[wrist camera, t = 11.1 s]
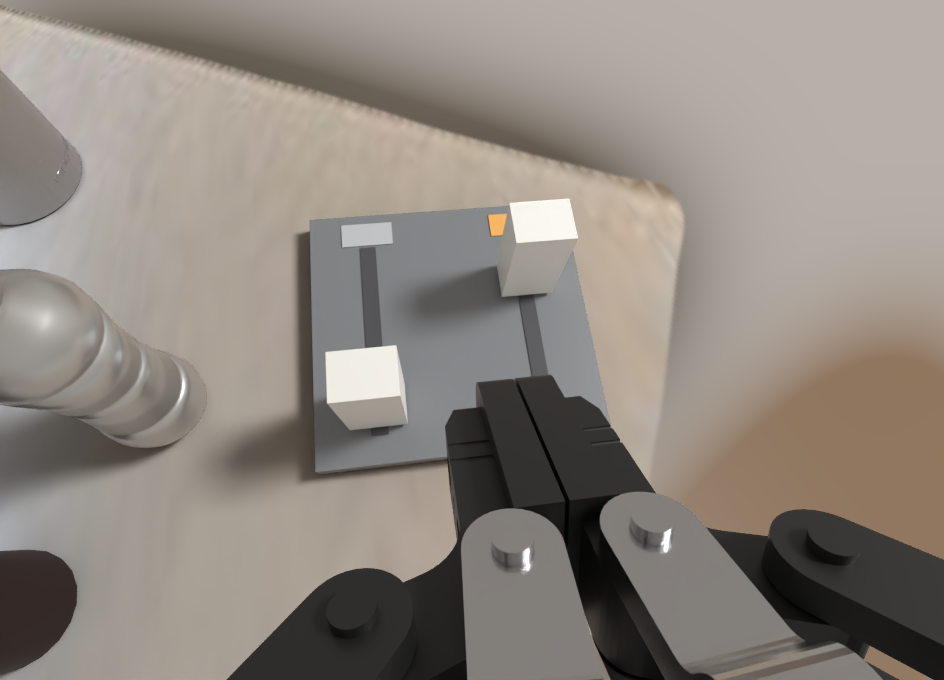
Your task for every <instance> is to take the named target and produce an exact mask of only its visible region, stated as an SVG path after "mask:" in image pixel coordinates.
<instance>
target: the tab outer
mask: <svg viewBox="0 0 944 680" xmlns="http://www.w3.org/2000/svg"><path fill="white" fill-rule="evenodd" d="M577 239H578V236H577V231H576V227H575V222H574V218H573V213H572V209H571V205H570V200H569V199H558V200H544V201H530V202H515V203H509V207H508V212H507V216H506V221H505V225H504V230H503V235H502V239H501V244H500V248H499V253H498V258H497V262H496V264H497V270H498V276H499V282H500V289H501V295H502V297H507V296H518V295H530V294H541V293H552V292H553V290H554V288H555V285H556V283H557V281H558V279H559V277H560V275H561V273H562V271H563V269H564V267H565V265H566V262H567V260H568V258H569V256H570V254H571V252H572V250H573V248H574V246H575V244H576V241H577Z"/></svg>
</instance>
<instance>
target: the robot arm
mask: <svg viewBox="0 0 944 680" xmlns="http://www.w3.org/2000/svg"><path fill="white" fill-rule="evenodd" d="M81 175H82V163H81V159H80V156H79V154H78V153H77V151H76V150H75V148H74V147H73V146H72V145H71V144H70V143H69V142H68V141H67V140H66V139H65V138H64V136H63V135H62V134H61V133H60V132H59V131H58V130H57V129H56V128H55V127H54V126H53V125H52V124H51V123H50V122H49V121H48V120H47V118H46V117H45V116H44V115H43V114H42V113H41V112H40V111H39V110H38V109H37V108H36V107H35V106H34V104H33V103H32V102H31V101H30V100H29V99H28V98H27V97H26V96H25V95H24V94H23V93H22V92H21V91H20V90H19V89H18V87H17V86H16V85H15V84H14V83H13V82H12V81H11V80H10V79H9V78H8V77H7V76H6V75H5V74H4V73H3V72H2V71H1V69H0V224H1V225H16V224H23V223H27V222H32V221H34V220H37V219H40V218H42V217H45V216H46V215H48V214H50V213H52V212H53V211H55V210H57V209H58V208H59V207H60V206H62V205H63V204H64V203H65V202H66V201H67V200H68V199H69V198H70V197H71V195H72V194H73V193H74V191H75V190H76V188H77V186H78V184H79V182H80V178H81ZM445 434H446V447H447V459H448V472H449V484H450V493H451V500H452V508H453V515H454V522H455V529H456V536H457V543H456V545H455V547H454V548H453V550H452V551H451V553H450V554H449V555H448V556H447V558H446V559H444V560H443V561H442V562H441V563H440V564H439V565H437V566H436V567H434V568H433V569H431V570H429V571H428V572H426V573H424V574H422V575H419V576H417V577H415V578H413V579H410V580H408V581H406V582H404V583H403V582H402V581H401V580H400V579H399V578H397V577H396V576H394V575H393V574H391V573H388V572H386V571H383V570H379V569H371V568H363V569H355V570H350V571H346V572H344V573H341V574H338V575H336V576H334V577H332V578H330V579H328V580H327V581H325V582H324V583H323V584H321V585H320V586H319V587H317V588H316V589H315V590H314V591H313V592H312V593H311V594H310V595H309V596H308V597H307V598H306V599H305V600H304V601H303V602H302V603H301V604H300V605H299V606H298V607H297V608H296V609H295V610H294V611H293V612H292V613H291V614H290V615H289V616H288V617H287V618H286V619H285V620H284V621H283V622H282V624H281V625H280V626H279V627H278V628H277V629H276V630H275V631H274V632H273V633H272V634H271V635H270V636H269V637H268V638H267V639H266V640H265V641H264V642H263V643H262V644H261V645H260V646H259V647H258V648H257V649H256V650H255V651H254V652H253V653H252V654H251V655H250V656H249V657H248V658H247V659H246V660H245V661H244V662H243V663H242V664H241V665H240V666H239V667H238V668H237V670H236V671H235V672H234V673H233V674H232V675H231V676H230V677H229V678H228V679H227V680H899V679H897V678H895V677H893V676H891V675H890V674H888V673H886V672H884V671H882V670H880V669H879V668H877V667H875V666H873V665H871V664H870V663H868V662H866V661H864V658H865V655H866V653H867V650H868V648H869V646H872V647H874V648H876V649H877V650H879V651H881V652H883V653H885V654H887V655H888V656H890V657H892V658H894V659H896V660H898V661H900V662H902V663H903V664H906V665H907V666H909V667H911V668H913V669H915V670H917V671H918V672H920V673H922V674H924V675H926V676H928V677H930V678H931V679H933V680H944V560H943V559H940V558H938V557H936V556H933V555H931V554H928V553H926V552H923V551H921V550H919V549H916V548H914V547H912V546H909V545H907V544H904V543H902V542H899V541H897V540H895V539H892V538H890V537H887V536H885V535H883V534H880V533H878V532H875V531H873V530H871V529H868V528H866V527H863V526H861V525H858V524H856V523H854V522H851V521H849V520H846V519H844V518H841V517H838V516H836V515H833V514H829V513H825V512H821V511H816V510H806V509H802V510H792V511H787V512H784V513H782V514H780V515H779V516H777V517H776V518H775V519H774V520H773V522H772V524H771V526H770V530H769V534H768V536H761V535H752V534H745V533H736V532H728V531H721V530H714V529H710V528H707V527H705V526H704V525H703V524H702V522H701V521H700V520H699V519H698V518H697V517H696V515H694V514H693V512H692V511H691V510H689V509H688V508H687V507H685V506H684V505H682V504H681V503H679V502H678V501H675V500H673V499H671V498H668V497H666V496H663V495H660V494H656V493H655V491H654V490H653V488H652V487H651V485H650V484H649V482H648V481H647V479H646V478H645V476H644V475H643V473H642V472H641V470H640V469H639V467H638V466H637V464H636V463H635V461H634V460H633V458H632V457H631V455H630V454H629V452H628V451H627V449H626V448H625V446H624V445H623V443H620V439H619V437H618V436H617V434H616V433H615V431H614V430H613V429H611V425H610V424H609V422H608V421H607V419H606V418H605V416H604V415H603V413H602V411H601V410H600V409H599V408H598V407H596V406H595V405H593V404H592V403H590V402H589V401H587V400H586V399H584V398H583V397H581V396H574V397H564V395H563V393H562V392H561V390H560V388H559V386H558V385H557V383H556V381H555V379H554V378H553V376H552V375H550V374H549V375H540V376H530V377H521V378H515V379H514V380H513V379H503V380H493V381H484V382H476V408H467V409H458V410H453V412H452V414H451V416H450V417H449V419H448V421H447V423H446V425H445ZM585 616H586V617H585ZM586 619H587V621H586ZM587 622H588V624H589V627H590V630H591V635H590V631H589V628H588V624H587Z"/></svg>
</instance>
